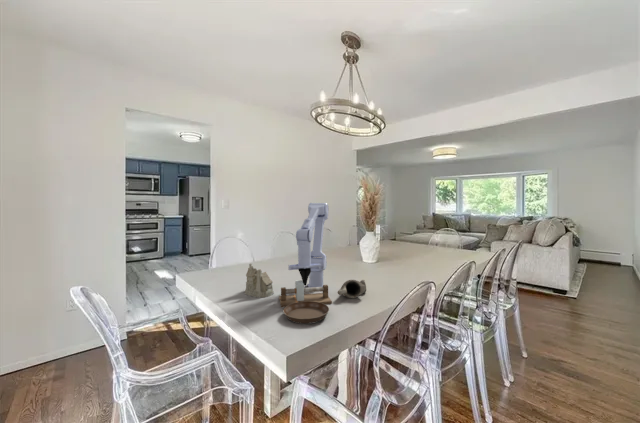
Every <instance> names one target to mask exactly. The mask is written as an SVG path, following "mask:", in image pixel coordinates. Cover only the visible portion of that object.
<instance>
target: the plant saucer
mask: <svg viewBox="0 0 640 423" xmlns="http://www.w3.org/2000/svg"><path fill="white" fill-rule="evenodd" d="M329 311H330V307H329V306H328V304H323V303H320V302H313V301H303V302H296V303H292V304H290V305H288V306H286V307H283V311H282V312H283V313H284V316H285V317H286V318H287V319H288V321H290V322H293V323H296V324H306V325H307V324H315V323H318V322H321V321H323V319H324V318H326V316H327V315H328V314H329Z"/></svg>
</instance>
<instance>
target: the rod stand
mask: <svg viewBox="0 0 640 423" xmlns="http://www.w3.org/2000/svg"><path fill="white" fill-rule="evenodd" d="M295 293H297V288H295V287H294V288H287V287H280V295H279V296H278V298H279V304H280V308H285V307H286V306H288V305H290V304H292V303H296V302H303V301H297V299H296V296H295ZM288 294H289V295H288ZM304 301H313V302H320V303H323V304H325V305H331V304H333V300H332V299H331V298H330V296H329V285H328V284H323V287H310V288H309V287H304Z"/></svg>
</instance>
